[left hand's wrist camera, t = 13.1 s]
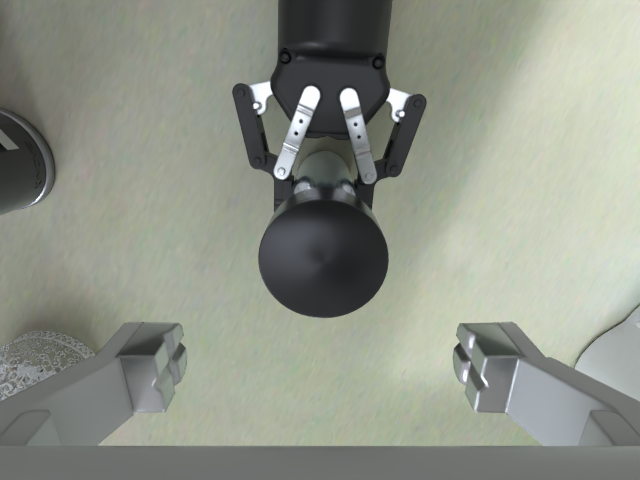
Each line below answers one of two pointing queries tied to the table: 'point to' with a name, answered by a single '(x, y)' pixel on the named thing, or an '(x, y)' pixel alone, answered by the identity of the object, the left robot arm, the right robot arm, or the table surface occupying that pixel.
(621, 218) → the table surface
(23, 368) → the pendant light
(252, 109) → the right robot arm
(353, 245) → the lid
